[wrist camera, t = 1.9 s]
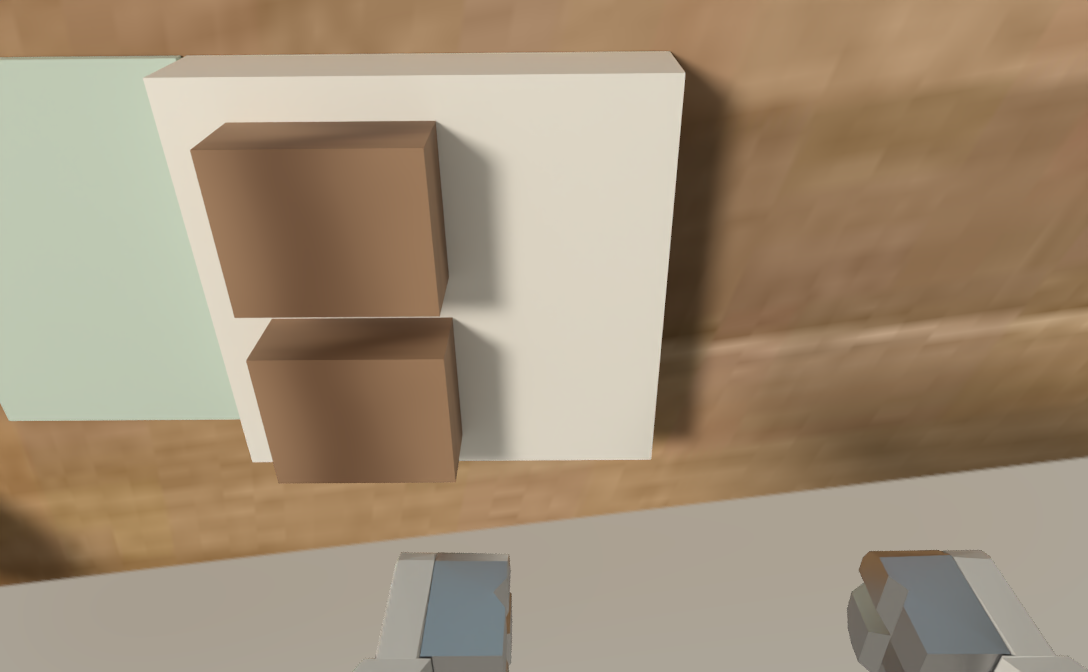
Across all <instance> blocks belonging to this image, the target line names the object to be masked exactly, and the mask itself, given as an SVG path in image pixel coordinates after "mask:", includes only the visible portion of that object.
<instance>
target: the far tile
mask: <svg viewBox="0 0 1088 672" xmlns="http://www.w3.org/2000/svg"><path fill="white" fill-rule="evenodd" d="M246 363H247V366H248V370H249V374H250V378H251V381H252V385H253V389H254V393H255V396H256V400H257V404H258V408H259V411H260V415H261V419H262V423H263V426H264V430H265V434H266V438H267V441H268V445H269V449H270V453H271V456H272V460H273V464H274V468H275V471H276V475H277V479H278V483H419V482H456V477H457V470H458V463H459V456H460V449H461V442H462V436H463V434H462V422H461V410H460V399H459V387H458V375H457V364H456V352H455V341H454V329H453V317H444V318H309V319H271V321H270V323H269V324H268V326H267V327H266V329H265V331H264V332H263V334H262V336H261V337H260V339H259V340H258V342H257V344H256V345H255V347H254V349H253V350H252V352H251V353H250V355H249V357H248V358H247V360H246Z"/></svg>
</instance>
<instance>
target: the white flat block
mask: <svg viewBox="0 0 1088 672" xmlns="http://www.w3.org/2000/svg"><path fill="white" fill-rule="evenodd" d="M143 81H144V84H145V88H146V91H147V95H148V98H149V102H150V105H151V109H152V112H153V116H154V119H155V123H156V126H157V130H158V133H159V137H160V140H161V144H162V147H163V151H164V154H165V158H166V161H167V165H168V168H169V172H170V175H171V179H172V182H173V186H174V189H175V193H176V196H177V200H178V203H179V207H180V210H181V214H182V217H183V221H184V224H185V228H186V231H187V235H188V238H189V242H190V245H191V249H192V252H193V256H194V259H195V263H196V266H197V270H198V273H199V277H200V280H201V284H202V287H203V291H204V294H205V298H206V301H207V305H208V308H209V312H210V315H211V319H212V322H213V326H214V329H215V333H216V336H217V340H218V343H219V347H220V350H221V354H222V357H223V361H224V364H225V368H226V371H227V375H228V378H229V382H230V385H231V389H232V392H233V396H234V399H235V403H236V406H237V410H238V413H239V417H240V420H241V424H242V427H243V431H244V434H245V438H246V441H247V444H248V448H249V451H250V455H251V458H252V462H273V460H272V456H271V453H270V449H269V445H268V441H267V438H266V434H265V430H264V426H263V423H262V419H261V415H260V411H259V408H258V404H257V400H256V396H255V393H254V389H253V385H252V381H251V378H250V374H249V370H248V366H247V363H246V360H247V358H248V357H249V355H250V353H251V352H252V350H253V349H254V347H255V345H256V344H257V342H258V340H259V339H260V337H261V336H262V334H263V332H264V331H265V329H266V327H267V326H268V324H269V323H270V321H271V319H309V318H444V317H453V329H454V341H455V352H456V364H457V375H458V387H459V399H460V410H461V422H462V434H463V436H462V442H461V449H460V456H459V461H501V460H651V454H652V443H653V432H654V421H655V410H656V398H657V387H658V376H659V365H660V354H661V342H662V331H663V320H664V309H665V298H666V286H667V275H668V264H669V253H670V242H671V230H672V219H673V208H674V197H675V185H676V174H677V163H678V152H679V141H680V129H681V118H682V107H683V96H684V85H685V72H684V70H683V69H682V67H681V66H680V65H679V63H678V62H677V60H676V59H675V58H674V56H673V55H672V54H671V52H670V51H634V52H525V53H415V54H305V55H195V56H185V57H183V58H181V59H179V60H177V61H175V62H173V63H171V64H169V65H167V66H165V67H163V68H161V69H159V70H157V71H155V72H153V73H151V74H149V75H147V76H145V77H143ZM346 121H436V131H437V143H438V154H439V166H440V178H441V189H442V201H443V212H444V224H445V236H446V247H447V259H448V271H449V279H448V284H447V288H446V292H445V296H444V300H443V305H442V309H441V313H440V317H308V318H234V314H233V310H232V306H231V303H230V299H229V295H228V291H227V288H226V284H225V280H224V276H223V273H222V269H221V265H220V261H219V258H218V254H217V250H216V246H215V243H214V239H213V235H212V231H211V228H210V224H209V220H208V216H207V213H206V209H205V205H204V201H203V198H202V194H201V190H200V186H199V183H198V179H197V175H196V171H195V168H194V164H193V160H192V156H191V153H190V150H191V149H192V148H193V147H194V146H196V145H197V144H198V143H200V142H201V141H202V140H204V139H205V138H206V137H207V136H209V135H210V134H211V133H213V132H214V131H215V130H216V129H218V128H219V127H220V126H222V125H223V124H224V123H230V122H346Z"/></svg>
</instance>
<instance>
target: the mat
mask: <svg viewBox="0 0 1088 672" xmlns="http://www.w3.org/2000/svg"><path fill="white" fill-rule="evenodd" d="M179 59H181V56H85V57H0V403H1V405H2V407H3V409H4V411H5V413H6V415H7V417H8V419H9V421H63V420H210V419H240V417H239V413H238V410H237V406H236V403H235V399H234V396H233V392H232V389H231V385H230V382H229V378H228V375H227V371H226V368H225V364H224V361H223V357H222V354H221V350H220V347H219V343H218V340H217V336H216V333H215V329H214V326H213V322H212V319H211V315H210V312H209V308H208V305H207V301H206V298H205V294H204V291H203V287H202V284H201V280H200V277H199V273H198V270H197V266H196V263H195V259H194V256H193V252H192V249H191V245H190V242H189V238H188V235H187V231H186V228H185V224H184V221H183V217H182V214H181V210H180V207H179V203H178V200H177V196H176V193H175V189H174V186H173V182H172V179H171V175H170V172H169V168H168V165H167V161H166V158H165V154H164V151H163V147H162V144H161V140H160V137H159V133H158V130H157V126H156V123H155V119H154V116H153V112H152V109H151V105H150V102H149V98H148V95H147V91H146V88H145V84H144V81H143V77H145V76H147V75H149V74H151V73H153V72H155V71H157V70H159V69H161V68H163V67H165V66H167V65H169V64H171V63H173V62H175V61H177V60H179Z"/></svg>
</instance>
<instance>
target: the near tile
mask: <svg viewBox="0 0 1088 672" xmlns="http://www.w3.org/2000/svg"><path fill="white" fill-rule="evenodd" d="M190 153H191V156H192V160H193V164H194V168H195V171H196V175H197V179H198V183H199V186H200V190H201V194H202V198H203V201H204V205H205V209H206V213H207V216H208V220H209V224H210V228H211V231H212V235H213V239H214V243H215V246H216V250H217V254H218V258H219V261H220V265H221V269H222V273H223V276H224V280H225V284H226V288H227V291H228V295H229V299H230V303H231V306H232V310H233V314H234V318H308V317H440V313H441V309H442V305H443V300H444V296H445V292H446V288H447V284H448V279H449V271H448V259H447V247H446V236H445V224H444V212H443V201H442V189H441V178H440V166H439V154H438V143H437V131H436V121H346V122H230V123H224V124H223V125H222V126H220V127H219V128H218V129H216V130H215V131H214V132H213V133H211V134H210V135H209V136H207V137H206V138H205V139H204V140H202V141H201V142H200V143H198V144H197V145H196V146H194V147H193V148H192V149H191V150H190Z"/></svg>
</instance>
